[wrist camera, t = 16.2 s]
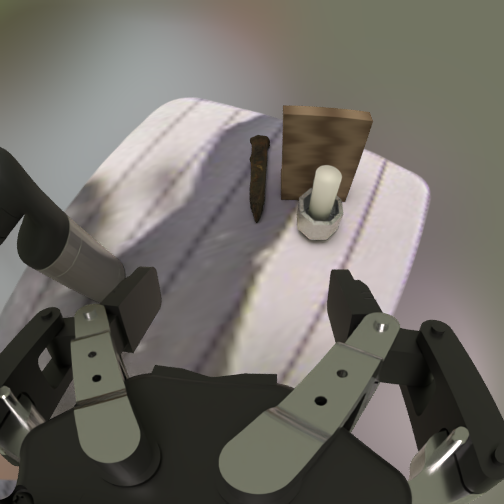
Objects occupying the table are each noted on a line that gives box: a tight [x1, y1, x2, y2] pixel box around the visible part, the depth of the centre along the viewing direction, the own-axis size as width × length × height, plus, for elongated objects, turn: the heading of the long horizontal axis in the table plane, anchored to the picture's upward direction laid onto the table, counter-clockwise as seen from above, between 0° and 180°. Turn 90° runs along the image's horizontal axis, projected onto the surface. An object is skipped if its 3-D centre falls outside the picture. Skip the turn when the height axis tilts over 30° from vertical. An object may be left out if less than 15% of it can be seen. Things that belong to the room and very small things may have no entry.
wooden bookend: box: [281, 106, 373, 202], centre depth 42 cm, size 12×6×20 cm, turn 87°
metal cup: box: [297, 179, 343, 240], centre depth 44 cm, size 7×9×5 cm
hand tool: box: [250, 135, 270, 223], centre depth 51 cm, size 19×4×5 cm, turn 175°
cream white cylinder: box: [308, 165, 342, 222], centre depth 40 cm, size 4×4×12 cm
